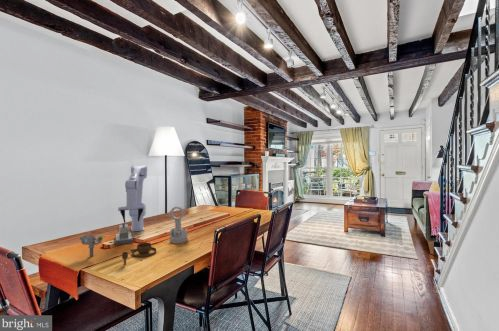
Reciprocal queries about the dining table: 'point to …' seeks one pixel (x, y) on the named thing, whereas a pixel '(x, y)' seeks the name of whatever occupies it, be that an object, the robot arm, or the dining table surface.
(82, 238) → the mechanical component
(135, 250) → the place setting
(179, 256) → the dining table surface
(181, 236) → the engine component
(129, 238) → the panel
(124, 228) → the housing
